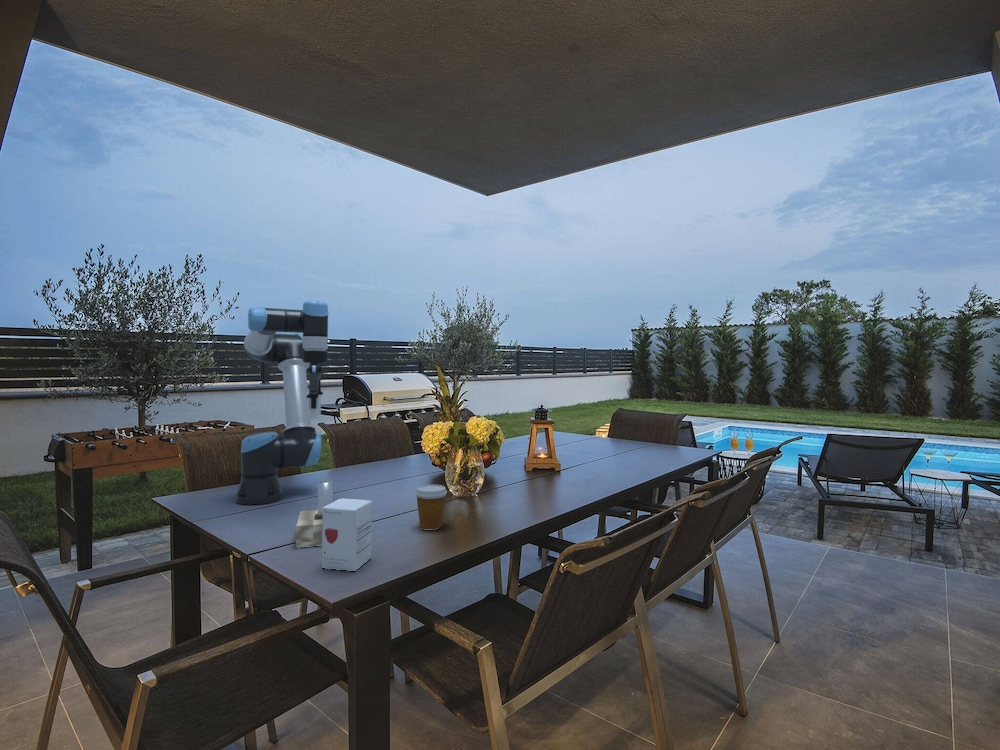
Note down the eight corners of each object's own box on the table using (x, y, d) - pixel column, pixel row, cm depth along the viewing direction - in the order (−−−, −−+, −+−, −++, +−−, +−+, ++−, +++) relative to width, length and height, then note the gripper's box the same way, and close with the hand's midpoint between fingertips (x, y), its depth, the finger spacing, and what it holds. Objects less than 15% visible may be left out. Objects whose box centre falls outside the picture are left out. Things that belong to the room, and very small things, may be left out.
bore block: (295, 548, 134) (296, 526, 134) (300, 531, 148) (300, 511, 147) (351, 543, 138) (351, 521, 138) (350, 527, 152) (350, 507, 151)
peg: (317, 534, 140) (317, 484, 140) (318, 529, 144) (318, 480, 144) (332, 533, 142) (332, 483, 141) (332, 528, 145) (332, 480, 145)
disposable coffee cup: (432, 535, 146) (433, 493, 146) (408, 529, 151) (408, 488, 151) (453, 526, 154) (453, 487, 154) (428, 520, 159) (429, 482, 159)
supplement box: (320, 569, 121) (320, 507, 121) (339, 555, 130) (340, 497, 129) (355, 573, 119) (355, 509, 119) (372, 558, 128) (373, 499, 128)
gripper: (326, 349, 151) (325, 421, 151) (329, 351, 175) (328, 412, 175) (299, 349, 148) (299, 421, 149) (305, 350, 172) (305, 413, 173)
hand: (315, 417), depth 162 cm, fingers open, 13 cm apart
